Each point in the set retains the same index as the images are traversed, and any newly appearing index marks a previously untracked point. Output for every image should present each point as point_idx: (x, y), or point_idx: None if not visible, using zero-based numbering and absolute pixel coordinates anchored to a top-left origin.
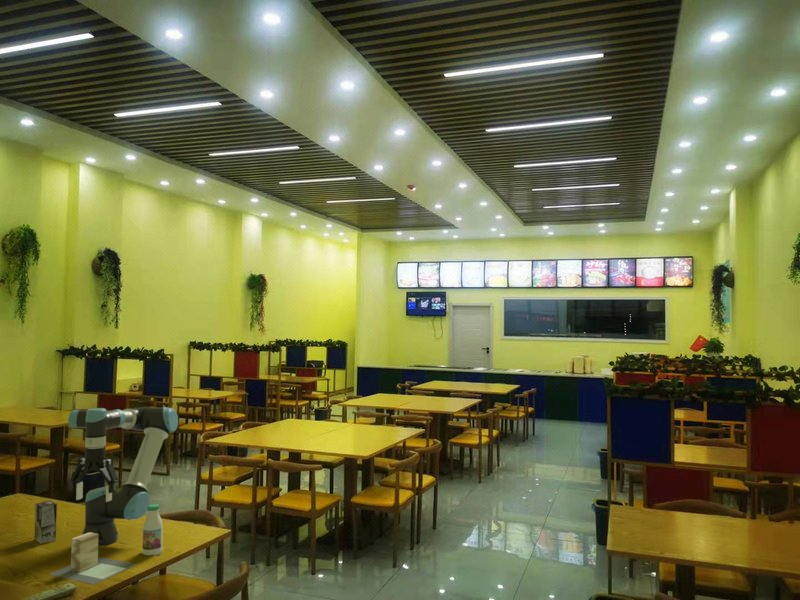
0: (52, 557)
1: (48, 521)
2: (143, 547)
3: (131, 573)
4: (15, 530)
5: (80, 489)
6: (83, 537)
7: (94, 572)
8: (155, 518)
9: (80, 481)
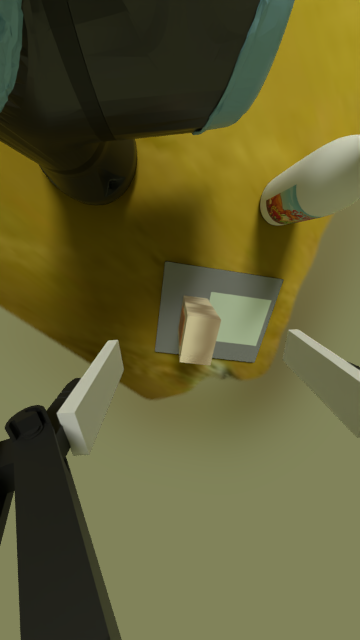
0: (82, 280)
1: None
2: (276, 220)
3: (285, 307)
4: None
5: (104, 391)
6: (201, 349)
7: (225, 328)
8: None
9: (51, 425)
